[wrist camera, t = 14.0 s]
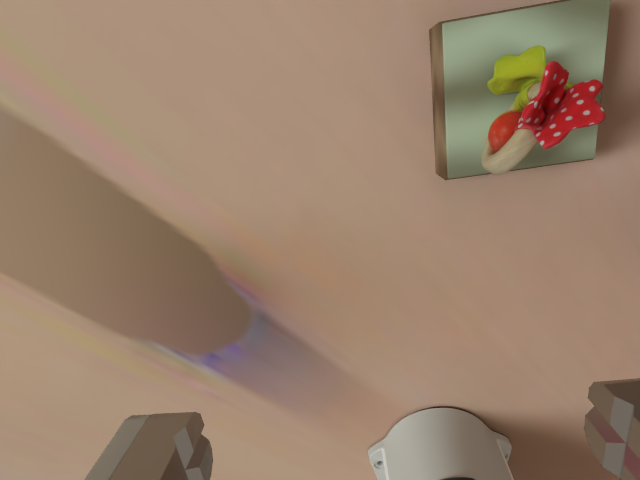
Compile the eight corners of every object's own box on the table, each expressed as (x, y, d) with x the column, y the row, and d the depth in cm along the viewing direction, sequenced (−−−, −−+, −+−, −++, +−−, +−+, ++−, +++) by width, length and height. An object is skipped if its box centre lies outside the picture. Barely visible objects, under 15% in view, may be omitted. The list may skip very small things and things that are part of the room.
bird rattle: (513, 150, 35) (591, 53, 29) (543, 227, 27) (659, 114, 21) (452, 126, 34) (518, 22, 28) (465, 197, 26) (559, 72, 20)
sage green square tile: (570, 154, 37) (596, 160, 33) (435, 173, 38) (446, 181, 34) (581, 2, 32) (614, -11, 28) (429, 29, 33) (441, 20, 30)
